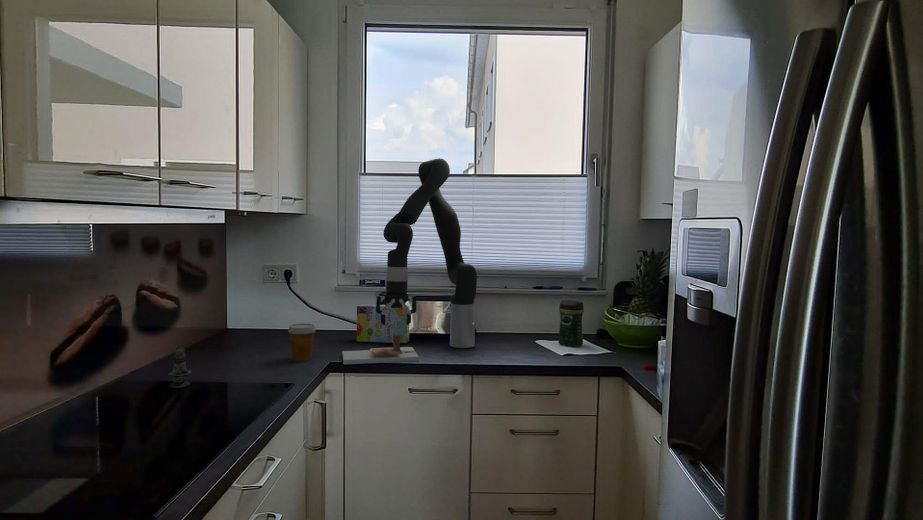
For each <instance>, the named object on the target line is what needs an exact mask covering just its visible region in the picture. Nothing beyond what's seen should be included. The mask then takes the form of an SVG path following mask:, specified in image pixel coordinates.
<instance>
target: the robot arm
mask: <svg viewBox="0 0 923 520" xmlns="http://www.w3.org/2000/svg"><path fill="white" fill-rule="evenodd" d="M450 170H451V169H450V166H449V163H448V162H447V161H446V160H445V159H443V158H434V159H431V160H426V161H423V162H421V163H420V164H419V166H418V170H417V173H418V177H419V178H418V179H419V181H420V184H421V185H420V186H419V187H418V188H417V189H416V190H414V191H413V193H411V195H409V197H408V198H407V199H406V201H405V202H404V204H402V205H403V206H402V207H401V209H400V210H399V211H398V212H397V213H396V214H395V215H394V216H393V217H392V218H390V220H389V221H388V222H387V223H386V225H384V229H383V232H382V233H383V238H384V240H385V241H386V242H388V243H391V244H393V243H395V244H396V247H395V249H390V250H389V251H388V252H387V262H386V263H387V265H386V275H385V276H386V280H385V295H379V294H378V295H376V303H375V305H376V312H377V313H379V314H381V323H382V324H383V325H385V313H386V311H387V310H388V309H389V308H390V307H391V308H402V307H403V308H404V309H405V310H406V312H407V320H406V324H407V325H409V326H410V324H411V323H412V315H413V314H415V313H417V312H418V311H417V296H416V295H414V294H413V295H408V282H409V277H408V275H409V273H408V256H409V252H410V248H411V246H412V242H413V238H414V232H413V229H412V228H413V227H412V226H414V225H415V224H416V223H417V221H418V220H419V218H420V216H421V215H422V213H423V211H424V210H425V207H426V206H427V205H428V204H429V207H430V211H431V214H432V218H433V221H434V225H435V229H436V231H437V232H436V233H437V235H438V238H439V242H440V245H441V248H442V252H443V255H444V259H445V261H444V262H445V266H446V273H447V276H448V279H449V281H450V282H451V283H452V284H453V285H455V292H454V294H453V295H452V296H451V297H450V322H449V323H450V332H449V333H450V334H449V336H450V338H449V346H450V347H452V348H455V349H456V348H457V349H468V348H474V347H475V343H476V342H475V341H476V339H475V337H476V336H475V334H476V333H475V331H476V323H475V322H474V319H475V318H474V316H475V315H474V314H475V313H474V312H475V311H474V309H475V305H474V304H475V298H476V295H477V285H478V283H477V282H478V272H477V270H476V268H475V267H474V266H473V265H472V264H469V263H465V261H464V258H463V255H462V252H461V239H462V238H461V237H462V236H461V235H462V233H461V232H462V229H461V226H460V221H459V217H458V215H457V212H456V211H455V210H454V208H453V207H452V205H451V204H450V203H449V202H448V201H447V200H446V199H445V198H444V196H443V193H442V192H441V190H440V188H441V187H442V186H443V185H444V184H445V182H446V181H447V180H448V178H449V176H450V172H451V171H450ZM384 300H385V302H386V304H384V305H385V306H384V308H383V309H382V310H380V305H381V303H382V302H383V301H384ZM408 301H409V302H410V303H411V308H410V307H409V308H408V307H407V306H408V305H407V304H406V303H407V302H408Z"/></svg>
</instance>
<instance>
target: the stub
mask: <svg viewBox="0 0 923 520" xmlns="http://www.w3.org/2000/svg"><path fill="white" fill-rule="evenodd" d="M400 347H401V343H400V335H399V333H397V334H393V343H392V347H384V348H385V349H372V354H373V355H394V354H402V351H401V349H400Z"/></svg>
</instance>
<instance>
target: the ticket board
mask: <svg viewBox="0 0 923 520" xmlns="http://www.w3.org/2000/svg"><path fill="white" fill-rule="evenodd" d="M385 348H386V347H375V348H370V349H367V350H365V349H364V350H342V354H341V356H342V362H343V365H358V364H359V365H360V364H361V365H363V364H382V363H384V364H385V363H403V362H404V363H405V362H419V360H420V357H419V355H418V353H417V352H416V351H415V349H414V347H412V346H400V349H401V351H402V354H394V355H373V354H372V349H385Z"/></svg>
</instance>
